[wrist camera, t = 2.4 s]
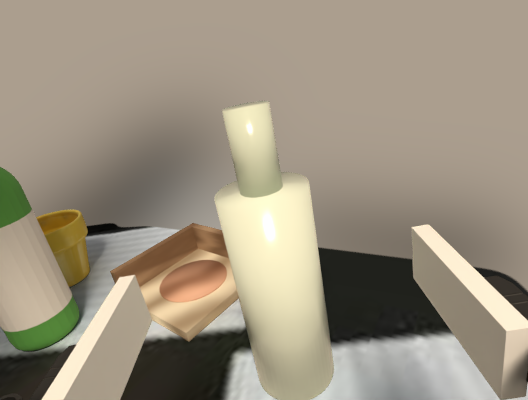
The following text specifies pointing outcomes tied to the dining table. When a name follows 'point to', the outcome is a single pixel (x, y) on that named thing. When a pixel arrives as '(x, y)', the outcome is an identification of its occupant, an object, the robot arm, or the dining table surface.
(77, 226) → the plant pot
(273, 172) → the bottle
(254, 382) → the dining table surface
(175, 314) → the dock
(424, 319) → the dining table surface
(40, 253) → the wine bottle
